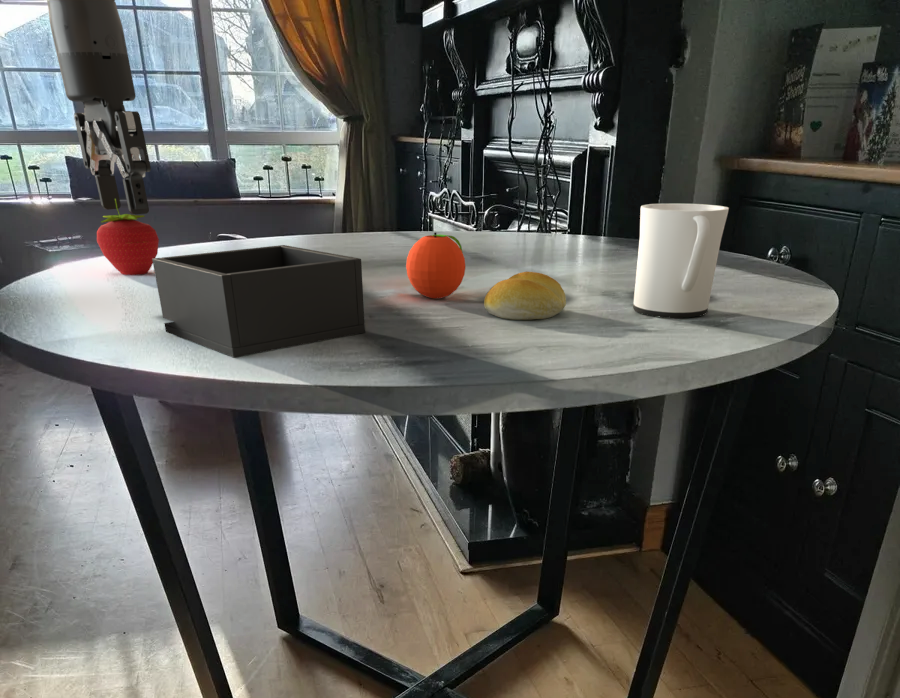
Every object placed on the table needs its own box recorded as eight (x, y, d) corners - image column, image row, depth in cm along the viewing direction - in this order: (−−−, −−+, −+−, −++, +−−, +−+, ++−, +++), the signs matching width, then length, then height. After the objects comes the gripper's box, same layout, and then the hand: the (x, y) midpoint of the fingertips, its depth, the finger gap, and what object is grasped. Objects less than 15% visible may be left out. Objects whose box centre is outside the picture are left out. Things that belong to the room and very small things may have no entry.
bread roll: (473, 317, 83) (473, 277, 81) (508, 302, 90) (510, 265, 88) (544, 325, 80) (547, 283, 78) (575, 309, 87) (578, 271, 85)
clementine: (442, 289, 97) (441, 227, 94) (483, 296, 93) (484, 231, 90) (394, 298, 93) (392, 232, 89) (436, 306, 88) (435, 237, 85)
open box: (233, 357, 69) (221, 275, 65) (165, 332, 77) (151, 258, 74) (365, 332, 77) (361, 258, 74) (290, 312, 86) (283, 244, 82)
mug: (619, 303, 90) (630, 203, 84) (693, 302, 90) (709, 203, 85) (649, 324, 80) (663, 213, 75) (732, 322, 81) (752, 212, 76)
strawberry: (158, 289, 98) (142, 200, 93) (98, 289, 98) (79, 200, 93) (173, 281, 103) (158, 196, 98) (116, 281, 103) (98, 196, 98)
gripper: (36, 54, 90) (74, 210, 98) (81, 45, 81) (118, 218, 89) (101, 56, 94) (131, 205, 103) (150, 48, 85) (179, 213, 94)
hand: (125, 211), depth 96 cm, fingers open, 8 cm apart
